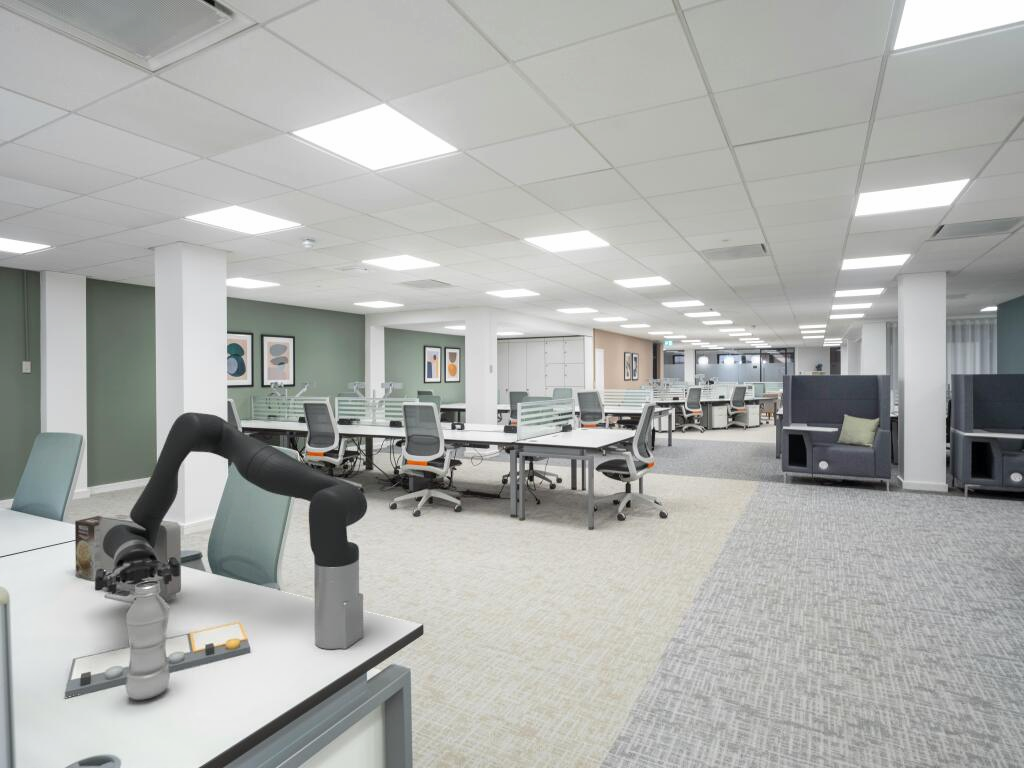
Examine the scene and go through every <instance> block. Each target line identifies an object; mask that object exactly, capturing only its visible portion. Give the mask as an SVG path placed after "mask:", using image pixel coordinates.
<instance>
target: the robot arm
mask: <svg viewBox="0 0 1024 768" xmlns="http://www.w3.org/2000/svg"><path fill="white" fill-rule="evenodd" d="M170 427H171V428H170V429H169V432H168V434H167V436H166V439H165V441H164V443H163V447H162V449H161V451H160V452H159V453H160V454H159V457H158V459H157V462H156V464H155V467H154V469H153V472H152V473H151V477H150V478H149V480H148V482H147V483H146V485H145V487H144V489H143V491H142V492H141V494H140V495H139V497H138V498H137V500H136V502H135V504H134V505H133V507H132V508H131V510H130V512H129V515H130V518H131V519H132V521H133V522H135V523H136V524H138V525H140V526H142V527H143V528H145V529H146V530H143V529H140V528H136V527H131V526H129V525H124V524H120V525H116V526H114V527H112V528H111V529H110V530H109V531H108V532H107V533H106V535H105V537H104V540H103V550H104V552H105V553H106V554H107V555H108V556H109V557H111V558H112V559H114V565H113V567H114V569H113V571H109V572H106V570H104V569H98V570H96V576H95V581H94V590H95V591H97V592H98V591H102V590H103V589H104V588H105V589H106V592H108V593H109V592H112V594H111V595H116V594H117V593H116V589H117V588H116V587H122V586H123V585H125V584H131V585H133V584H138V583H141V582H144V581H146V580H148V579H149V580H159V579H163V582H164V585H165V584H169V581H172V575H173V576H174V577H177V576H180V563H179V562H178V560H177V559H176V558H175V557H171V558H169V560H167V562H164V563H162V562H160V561H157V558H156V556H155V553H154V550H153V549H154V546H155V542H156V537H157V533H158V530H159V527H160V524H161V522H162V520H164V518H165V517H166V515H167V514H168V512H169V510H170V509H171V508H172V505H173V504H174V502H175V500H176V498H177V495H178V491H179V490H178V488H179V471H180V468H181V465H182V464H183V462H184V460H186V458H187V457H188V456H189V454H191V453H193V452H194V453H208V454H209V453H210V454H213V455H216V456H219V457H222V458H223V459H225V460H228V461H229V462H231V463H232V464H233V465H234V467H235V468H236V470H237V472H238V474H239V475H240V476H241V477H242V478H243V479H244V480H245V481H247V482H249V483H250V484H252V485H254V486H256V487H257V488H260V489H262V490H264V491H266V492H267V493H268V492H269V493H271V494H275V495H280V496H283V497H284V496H285V497H290V498H296V499H301V500H303V501H304V500H305V501H308V502H309V507H308V529H309V531H308V532H309V544H310V549H311V552H312V553H313V554H312V555H313V559H314V569H313V570H314V577H313V578H314V644H315V646H317V647H318V648H321V649H325V650H326V649H327V650H337V649H344V650H345V649H348V648H349V647H350V646H352V645H353V644H355V643H356V642H358V641H359V640H361V639H362V638H363V637H364V594H363V593H360V548H359V545H358V544H357V543H355V542H352V541H348V530H347V527H350V526H352V525H353V524H356V523H357V522H359V521H360V520H361V519H362V518H364V517H365V515H366V513H367V510H368V502H367V499H366V496H365V494H364V492H363V491H362V490H361V489H360V488H358V486H356V485H354V484H353V483H351V482H347V481H345V480H342V479H340V478H337V477H333V476H331V475H328V474H327V473H324V472H322V471H319V470H318V469H316V468H314V467H312V466H310V465H309V464H306V463H304V462H303V461H301V460H298V459H297V458H294V457H292V455H289V454H287V453H286V452H284V451H281V450H280V449H278V448H276V447H275V446H272V445H270V444H267V443H265V442H264V441H262V440H260V439H257V438H255V437H252V436H249V435H248V434H246V433H244V432H242V431H241V430H239V429H238V428H237V427H235V426H234V425H233V424H231V423H229V422H228V421H227V420H225V419H224V418H222V417H220V416H218V415H215V414H209V413H201V412H192V411H191V412H190V411H189V412H184V413H183V414H179V416H178V417H177V418H176V419H175V421H174V422H173V423H172V425H171V426H170ZM162 570H163V573H162ZM154 574H155V575H154Z"/></svg>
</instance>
